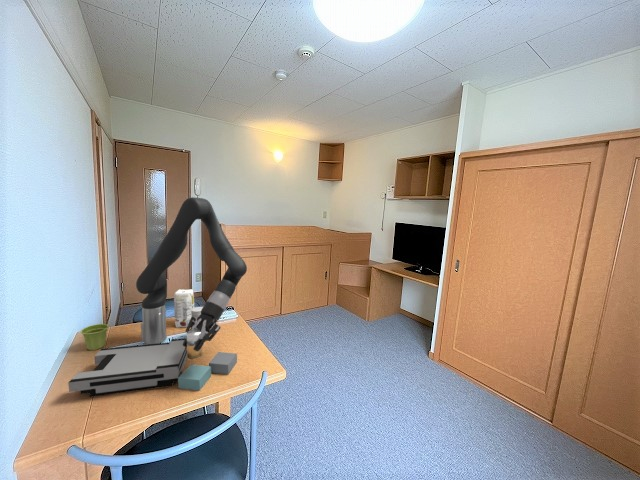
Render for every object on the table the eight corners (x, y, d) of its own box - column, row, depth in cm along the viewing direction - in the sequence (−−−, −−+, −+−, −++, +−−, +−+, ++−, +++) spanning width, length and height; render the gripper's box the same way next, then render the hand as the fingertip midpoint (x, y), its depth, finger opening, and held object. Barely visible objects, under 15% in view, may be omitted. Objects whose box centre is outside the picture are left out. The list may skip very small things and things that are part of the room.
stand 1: (178, 388, 94) (178, 377, 94) (191, 374, 102) (191, 364, 102) (199, 390, 94) (199, 380, 93) (211, 376, 102) (211, 366, 101)
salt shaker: (184, 358, 94) (183, 334, 93) (192, 350, 99) (191, 328, 98) (197, 359, 94) (196, 335, 93) (205, 352, 99) (204, 329, 98)
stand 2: (208, 372, 104) (208, 362, 103) (218, 360, 112) (218, 351, 111) (228, 374, 103) (228, 364, 102) (236, 362, 111) (236, 353, 110)
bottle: (209, 337, 130) (209, 308, 128) (196, 343, 124) (196, 313, 122) (201, 333, 134) (200, 305, 132) (188, 339, 128) (187, 309, 126)
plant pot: (111, 339, 125) (109, 322, 124) (108, 349, 117) (107, 330, 116) (84, 344, 120) (83, 326, 119) (80, 354, 112) (78, 335, 111)
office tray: (102, 365, 106) (101, 345, 105) (189, 355, 115) (189, 337, 114) (70, 402, 86) (67, 379, 85) (178, 387, 95) (177, 366, 94)
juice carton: (191, 327, 139) (190, 293, 137) (173, 328, 138) (172, 293, 136) (195, 321, 147) (194, 288, 144) (179, 322, 145) (178, 288, 143)
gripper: (197, 297, 104) (169, 339, 95) (224, 304, 98) (197, 350, 89) (208, 306, 109) (183, 346, 100) (234, 313, 103) (210, 357, 94)
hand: (190, 348), depth 95 cm, fingers closed on salt shaker, 5 cm apart
